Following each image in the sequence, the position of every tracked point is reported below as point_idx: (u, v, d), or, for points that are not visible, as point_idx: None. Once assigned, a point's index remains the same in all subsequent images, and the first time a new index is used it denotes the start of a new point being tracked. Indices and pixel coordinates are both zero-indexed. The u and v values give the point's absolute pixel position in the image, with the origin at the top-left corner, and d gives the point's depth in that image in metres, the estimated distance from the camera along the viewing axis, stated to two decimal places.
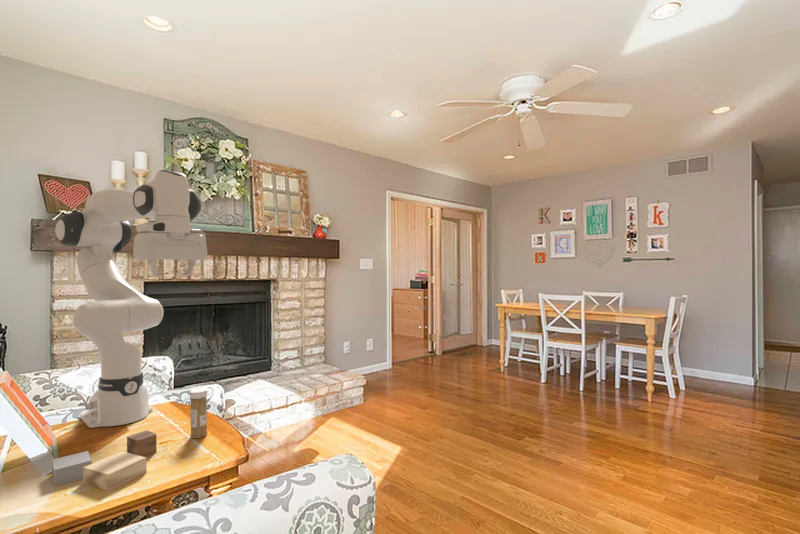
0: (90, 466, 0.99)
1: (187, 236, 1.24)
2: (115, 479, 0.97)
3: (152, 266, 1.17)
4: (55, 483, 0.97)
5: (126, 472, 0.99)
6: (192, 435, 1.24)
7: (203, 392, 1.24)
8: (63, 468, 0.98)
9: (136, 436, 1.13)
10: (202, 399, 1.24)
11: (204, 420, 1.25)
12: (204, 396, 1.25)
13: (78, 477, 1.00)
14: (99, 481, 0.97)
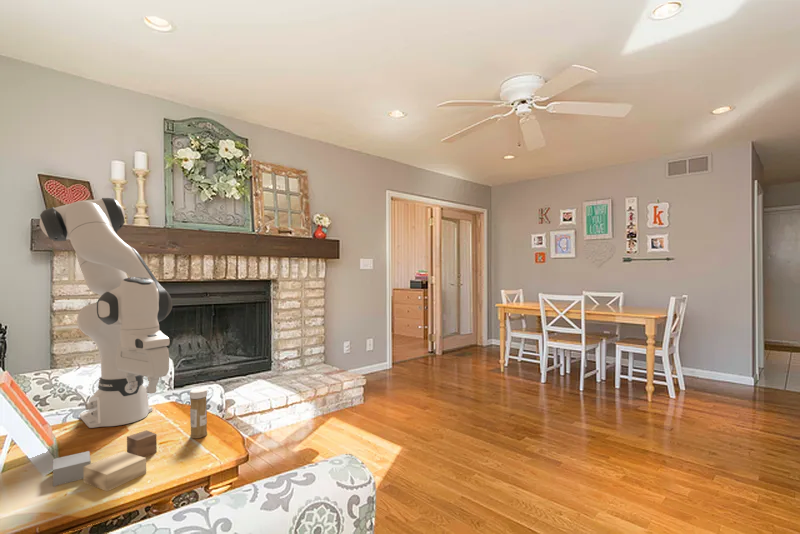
0: (90, 466, 0.99)
1: None
2: (114, 479, 0.97)
3: (155, 382, 1.11)
4: (54, 483, 0.98)
5: (125, 472, 0.99)
6: (192, 435, 1.24)
7: (203, 392, 1.24)
8: (62, 468, 0.98)
9: (136, 436, 1.13)
10: (202, 399, 1.24)
11: (204, 420, 1.25)
12: (204, 396, 1.25)
13: (77, 477, 1.00)
14: (98, 480, 0.97)
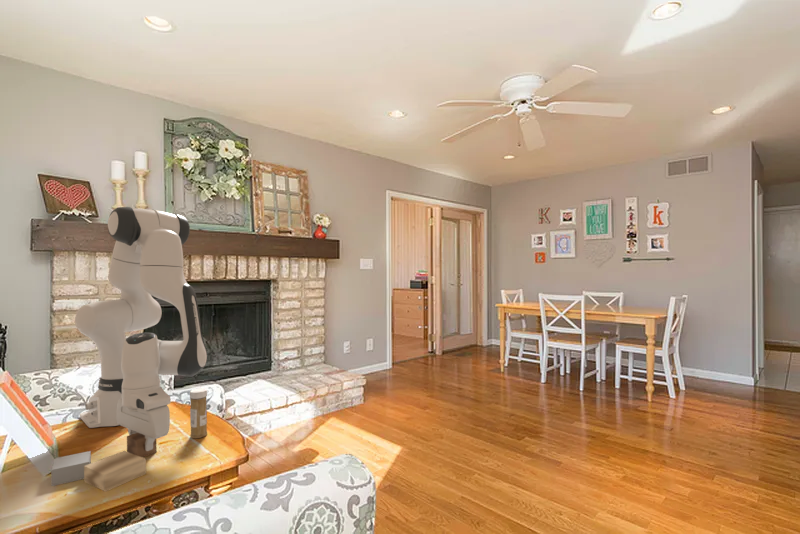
0: (91, 465, 1.00)
1: None
2: (112, 480, 0.96)
3: (152, 440, 1.12)
4: (52, 483, 0.98)
5: (124, 473, 0.99)
6: (192, 435, 1.24)
7: (203, 392, 1.24)
8: (60, 468, 0.98)
9: (135, 435, 1.13)
10: (202, 399, 1.24)
11: (204, 420, 1.25)
12: (204, 396, 1.25)
13: (75, 478, 1.00)
14: (97, 480, 0.97)
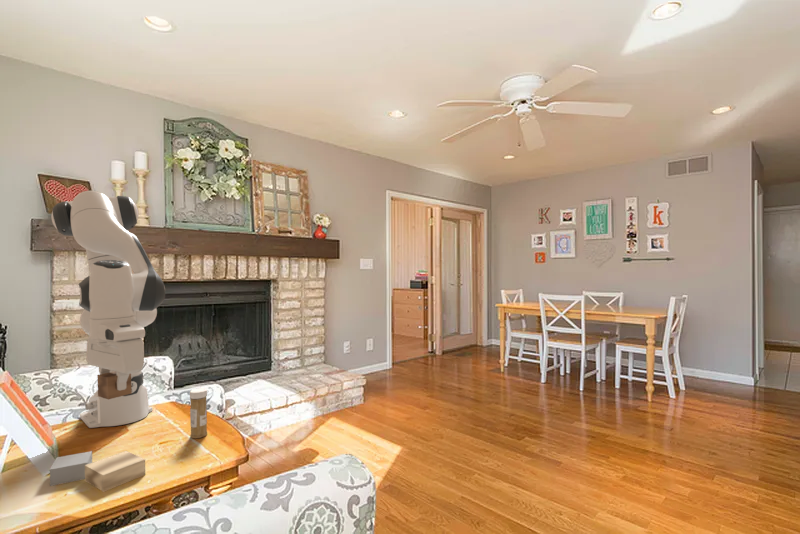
0: (91, 464, 1.00)
1: None
2: (110, 480, 0.96)
3: (125, 378, 0.99)
4: (51, 483, 0.98)
5: (122, 473, 0.98)
6: (192, 435, 1.24)
7: (203, 392, 1.24)
8: (59, 468, 0.98)
9: (107, 374, 1.00)
10: (202, 399, 1.24)
11: (204, 420, 1.25)
12: (204, 396, 1.25)
13: (73, 478, 1.00)
14: (96, 480, 0.97)
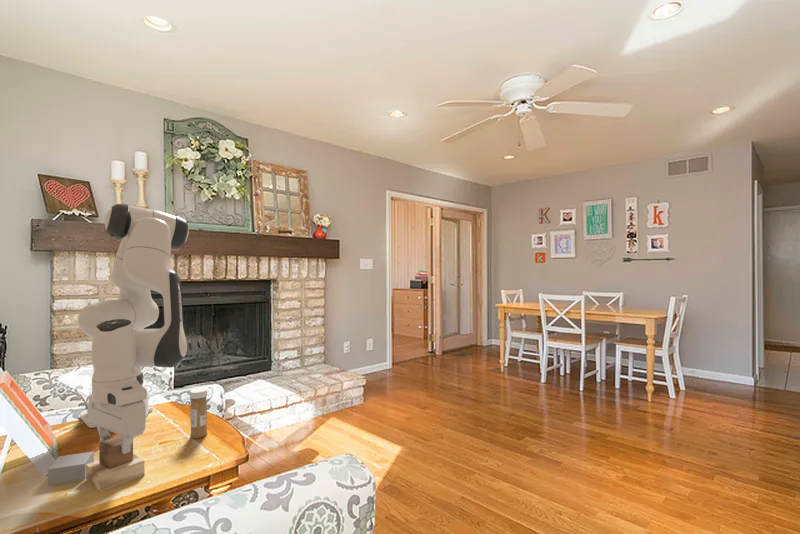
0: (92, 464, 1.00)
1: None
2: (108, 481, 0.96)
3: (130, 441, 0.98)
4: (49, 482, 0.98)
5: (121, 474, 0.98)
6: (192, 435, 1.24)
7: (203, 392, 1.24)
8: (57, 468, 0.98)
9: (109, 442, 1.01)
10: (202, 399, 1.24)
11: (204, 420, 1.25)
12: (204, 396, 1.25)
13: (71, 479, 0.99)
14: (95, 480, 0.97)
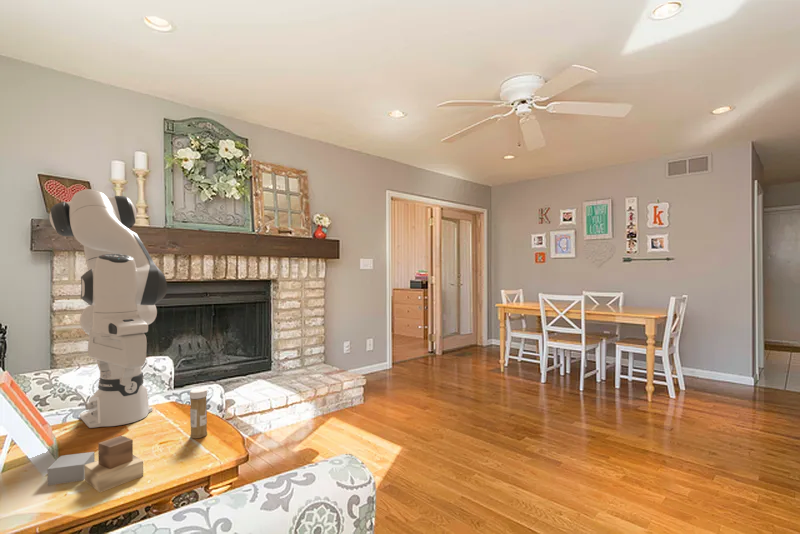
0: (90, 464, 1.00)
1: None
2: (107, 481, 0.96)
3: (130, 373, 0.98)
4: (48, 482, 0.98)
5: (119, 474, 0.98)
6: (192, 435, 1.24)
7: (203, 392, 1.24)
8: (56, 468, 0.98)
9: (109, 442, 1.00)
10: (202, 399, 1.24)
11: (204, 420, 1.25)
12: (204, 396, 1.25)
13: (70, 479, 0.99)
14: (93, 481, 0.97)
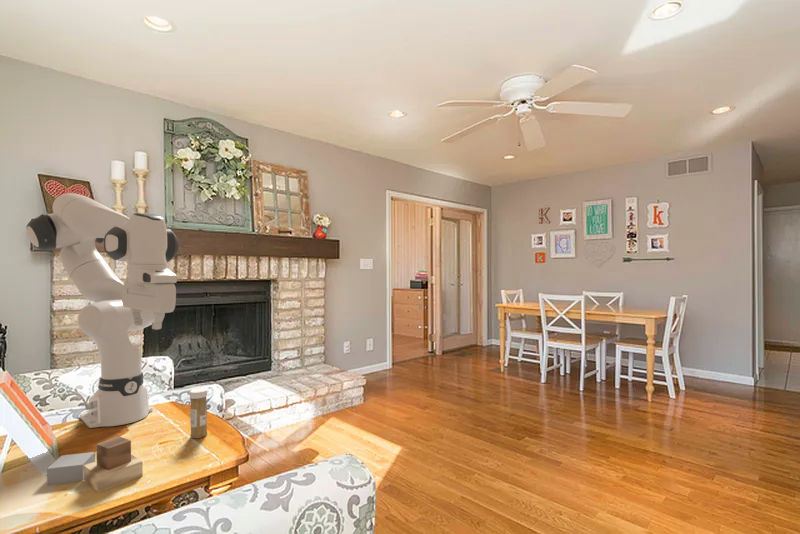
0: (90, 465, 1.00)
1: None
2: (106, 482, 0.96)
3: (161, 318, 1.10)
4: (48, 482, 0.98)
5: (119, 475, 0.98)
6: (192, 435, 1.24)
7: (203, 392, 1.24)
8: (56, 468, 0.98)
9: (107, 443, 1.00)
10: (202, 399, 1.24)
11: (204, 420, 1.25)
12: (204, 396, 1.25)
13: (69, 480, 0.99)
14: (93, 481, 0.97)
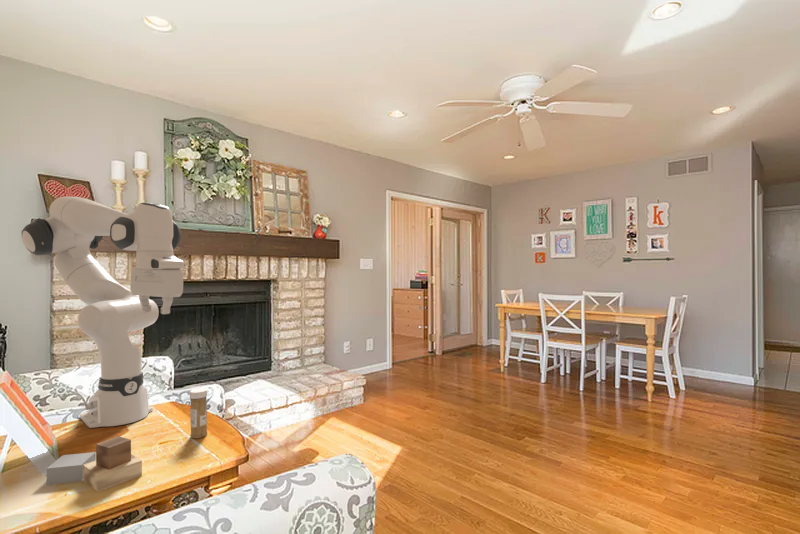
0: (89, 464, 1.00)
1: None
2: (105, 481, 0.96)
3: (169, 303, 1.14)
4: (47, 482, 0.98)
5: (118, 474, 0.98)
6: (192, 435, 1.24)
7: (203, 392, 1.24)
8: (55, 468, 0.98)
9: (106, 443, 1.00)
10: (202, 399, 1.24)
11: (204, 420, 1.25)
12: (204, 396, 1.25)
13: (68, 480, 0.99)
14: (92, 480, 0.97)
